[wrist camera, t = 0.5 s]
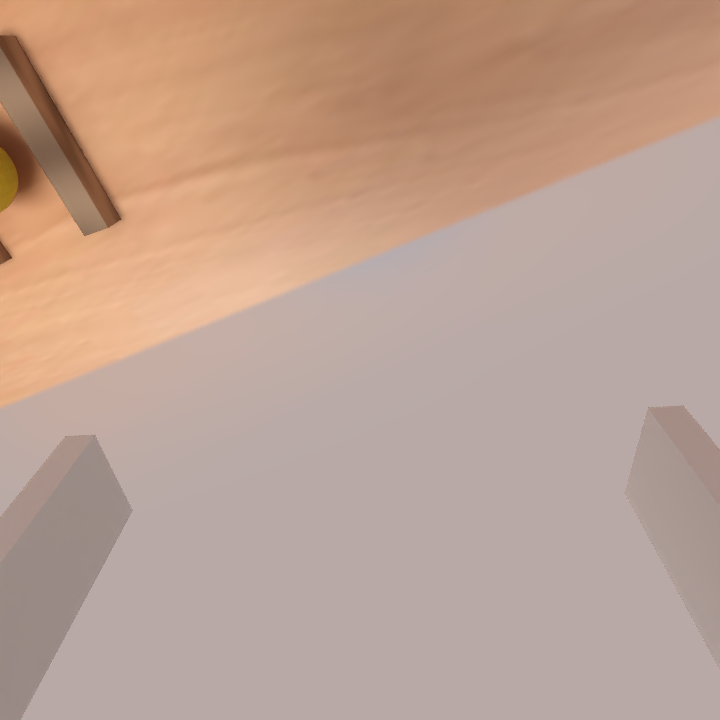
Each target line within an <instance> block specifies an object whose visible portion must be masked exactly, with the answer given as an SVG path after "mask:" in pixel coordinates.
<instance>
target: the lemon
mask: <svg viewBox="0 0 720 720" xmlns="http://www.w3.org/2000/svg"><path fill="white" fill-rule="evenodd" d="M17 189H18V174H17V171H16V168H15V165H14V164H13V162H12V160H11V158H10V157H9V156H8V154H7V153H6V152H5V151H4V150H3V149H2V148H1V147H0V212H2V211H3V210H4V209H6V208H7V207H8V206H9V205H10V204H11V202H12V201H13V199H14V198H15V196H16V193H17Z"/></svg>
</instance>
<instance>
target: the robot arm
mask: <svg viewBox="0 0 720 720" xmlns="http://www.w3.org/2000/svg"><path fill="white" fill-rule="evenodd" d="M625 494H626V496H627V498H628V500H629V502H630V503H631V505H632V507H633V509H634V511H635V513H636V514H637V516H638V518H639V520H640V522H641V524H642V526H643V528H644V530H645V531H646V533H647V535H648V537H649V539H650V541H651V542H652V544H653V546H654V548H655V550H656V552H657V554H658V556H659V557H660V559H661V561H662V563H663V565H664V567H665V569H666V570H667V572H668V574H669V576H670V578H671V580H672V581H673V583H674V585H675V587H676V589H677V591H678V593H679V595H680V597H681V598H682V600H683V602H684V604H685V606H686V608H687V610H688V611H689V613H690V615H691V617H692V619H693V621H694V622H695V624H696V626H697V628H698V630H699V632H700V634H701V635H702V637H703V639H704V641H705V643H706V645H707V647H708V649H709V650H710V652H711V654H712V656H713V658H714V660H715V662H716V664H717V665H718V667H719V669H720V449H719V448H718V447H717V446H716V444H715V443H714V442H713V441H712V439H711V438H710V437H709V436H708V435H707V433H706V432H705V431H704V430H703V429H702V427H701V426H700V425H699V424H698V423H697V421H696V420H695V419H694V418H693V417H692V415H691V414H690V413H689V412H688V411H687V409H686V408H685V407H684V406H668V407H648V409H647V413H646V416H645V420H644V424H643V427H642V431H641V435H640V439H639V442H638V446H637V450H636V453H635V457H634V461H633V464H632V468H631V472H630V476H629V479H628V483H627V487H626V490H625ZM131 512H132V508H131V506H130V504H129V502H128V500H127V498H126V496H125V494H124V492H123V491H122V488H121V487H120V484H119V482H118V480H117V478H116V477H115V474H114V472H113V470H112V468H111V466H110V464H109V462H108V460H107V458H106V456H105V454H104V452H103V450H102V448H101V446H100V444H99V442H98V440H97V438H96V436H95V435H81V436H65V438H64V439H63V440H62V442H61V443H60V444H59V445H58V446H57V448H56V449H55V450H54V451H53V452H52V454H51V455H50V456H49V458H48V459H47V460H46V461H45V462H44V464H43V465H42V466H41V467H40V469H39V470H38V471H37V473H36V474H35V475H34V476H33V477H32V479H31V480H30V481H29V482H28V484H27V485H26V486H25V487H24V488H23V490H22V491H21V492H20V493H19V495H18V496H17V497H16V499H15V500H14V501H13V502H12V503H11V505H10V506H9V507H8V508H7V510H6V511H5V512H4V513H3V514H2V516H1V517H0V720H21V718H22V716H23V714H24V712H25V710H26V709H27V707H28V705H29V703H30V701H31V699H32V697H33V695H34V694H35V692H36V690H37V688H38V686H39V684H40V682H41V681H42V679H43V677H44V675H45V673H46V671H47V669H48V668H49V666H50V664H51V662H52V660H53V658H54V656H55V654H56V653H57V651H58V649H59V647H60V645H61V643H62V641H63V640H64V638H65V636H66V634H67V632H68V630H69V628H70V626H71V624H72V623H73V621H74V619H75V617H76V615H77V613H78V611H79V610H80V608H81V606H82V604H83V602H84V600H85V598H86V597H87V595H88V593H89V591H90V589H91V587H92V585H93V584H94V582H95V580H96V578H97V576H98V574H99V572H100V570H101V569H102V567H103V565H104V563H105V561H106V559H107V557H108V555H109V554H110V552H111V550H112V548H113V546H114V544H115V542H116V540H117V539H118V537H119V535H120V533H121V531H122V529H123V527H124V526H125V524H126V522H127V520H128V518H129V516H130V514H131Z"/></svg>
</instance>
